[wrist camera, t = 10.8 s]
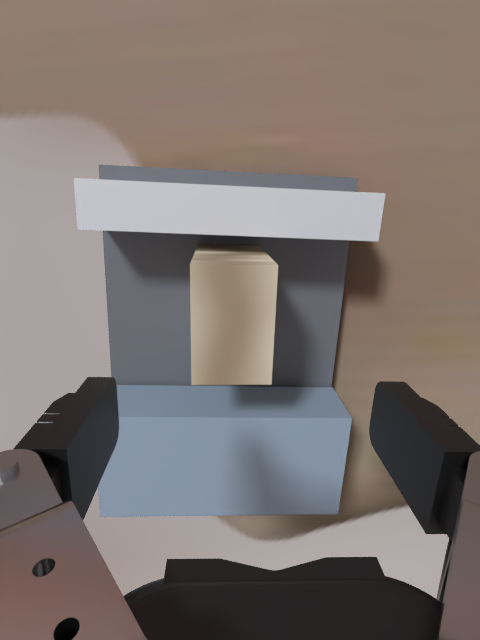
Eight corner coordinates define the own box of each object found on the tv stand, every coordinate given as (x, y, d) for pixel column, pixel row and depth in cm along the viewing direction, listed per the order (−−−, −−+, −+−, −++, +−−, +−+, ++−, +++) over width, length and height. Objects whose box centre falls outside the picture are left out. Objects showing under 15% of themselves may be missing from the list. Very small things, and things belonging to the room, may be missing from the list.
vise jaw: (332, 387, 28) (352, 418, 24) (321, 472, 30) (337, 514, 26) (110, 384, 27) (92, 416, 23) (116, 473, 29) (100, 516, 25)
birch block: (259, 245, 25) (278, 265, 17) (255, 332, 27) (271, 384, 19) (197, 244, 25) (189, 263, 17) (198, 332, 27) (191, 384, 19)
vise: (349, 179, 26) (388, 173, 20) (313, 478, 33) (334, 536, 27) (105, 166, 24) (71, 156, 19) (123, 479, 31) (102, 540, 26)
